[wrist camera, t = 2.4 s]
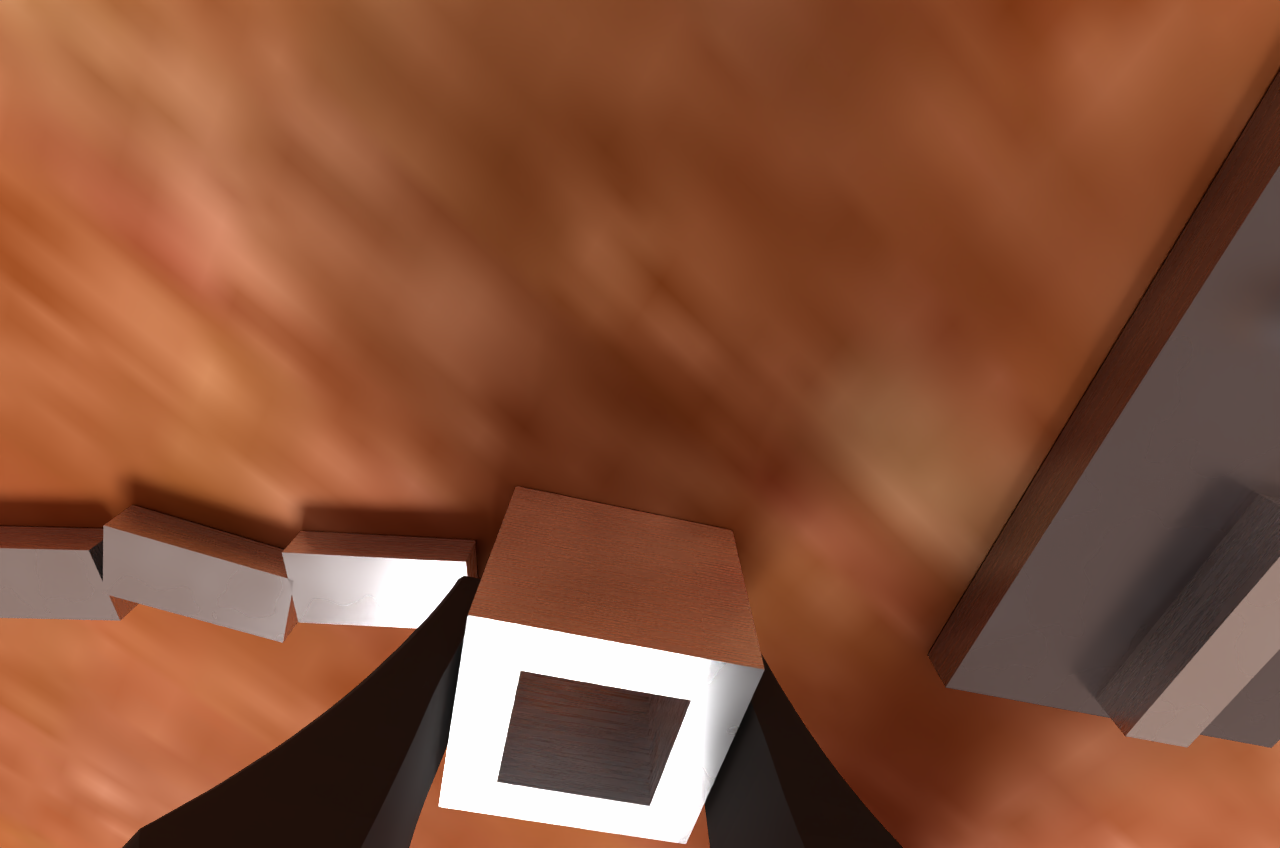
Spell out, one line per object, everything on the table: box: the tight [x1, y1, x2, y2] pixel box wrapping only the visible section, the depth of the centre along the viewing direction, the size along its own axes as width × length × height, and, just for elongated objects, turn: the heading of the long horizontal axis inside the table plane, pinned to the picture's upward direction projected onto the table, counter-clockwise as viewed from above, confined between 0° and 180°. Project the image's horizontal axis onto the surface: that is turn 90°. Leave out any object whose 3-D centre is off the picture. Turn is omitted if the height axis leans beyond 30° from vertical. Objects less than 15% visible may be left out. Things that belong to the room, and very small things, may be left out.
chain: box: [0, 505, 478, 643], centre depth 14 cm, size 3×17×1 cm, turn 90°
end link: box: [439, 486, 765, 844], centre depth 13 cm, size 5×5×4 cm
